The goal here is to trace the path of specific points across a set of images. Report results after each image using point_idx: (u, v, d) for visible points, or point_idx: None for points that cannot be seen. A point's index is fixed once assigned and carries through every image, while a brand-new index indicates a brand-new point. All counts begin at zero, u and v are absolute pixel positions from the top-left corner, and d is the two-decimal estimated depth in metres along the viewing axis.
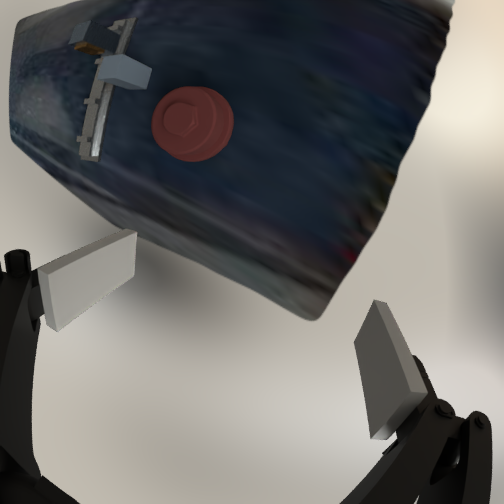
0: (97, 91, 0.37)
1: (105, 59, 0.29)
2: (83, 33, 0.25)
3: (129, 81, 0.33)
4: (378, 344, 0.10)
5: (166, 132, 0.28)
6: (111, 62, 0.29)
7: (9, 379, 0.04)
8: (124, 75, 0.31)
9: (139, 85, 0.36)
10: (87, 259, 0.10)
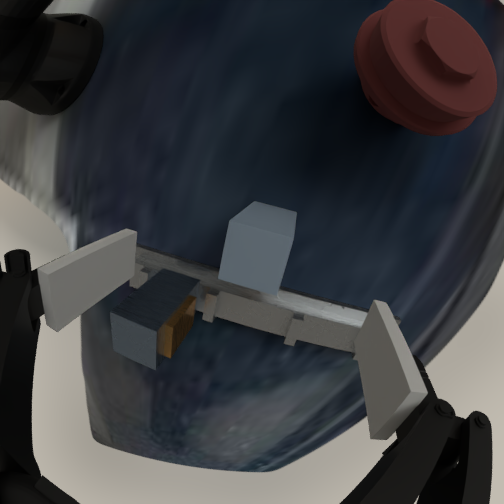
0: (275, 316, 0.25)
1: (229, 272, 0.18)
2: (138, 332, 0.18)
3: (292, 223, 0.20)
4: (378, 344, 0.10)
5: (470, 84, 0.09)
6: (242, 253, 0.17)
7: (10, 379, 0.04)
8: (282, 226, 0.18)
9: (294, 216, 0.22)
10: (87, 259, 0.10)
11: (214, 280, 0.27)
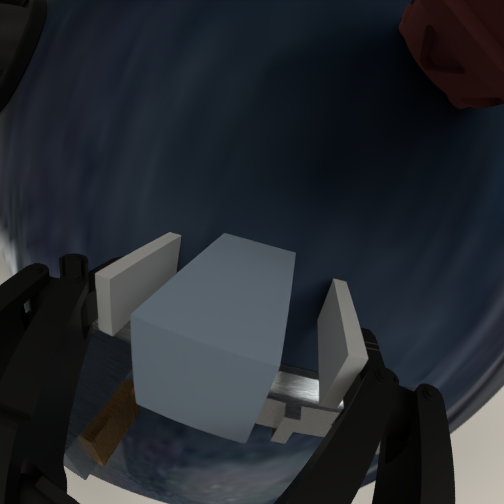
0: None
1: (152, 399, 0.08)
2: None
3: (284, 296, 0.10)
4: (332, 317, 0.12)
5: None
6: (167, 378, 0.07)
7: (50, 391, 0.05)
8: (258, 315, 0.08)
9: (289, 267, 0.12)
10: (142, 263, 0.11)
11: None
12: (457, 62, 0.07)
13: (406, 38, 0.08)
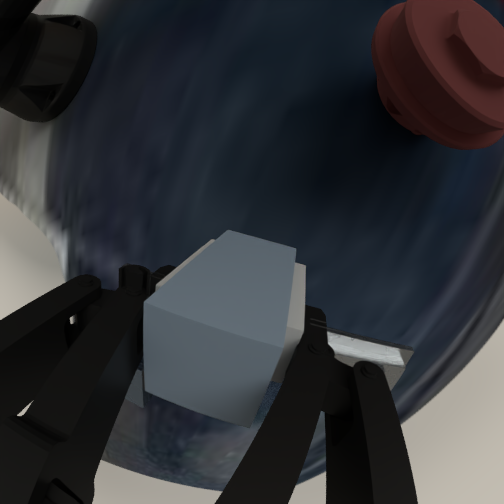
0: None
1: (161, 386, 0.08)
2: None
3: (286, 287, 0.10)
4: None
5: None
6: (177, 363, 0.08)
7: (93, 410, 0.05)
8: (263, 303, 0.09)
9: (290, 261, 0.13)
10: None
11: None
12: None
13: (378, 90, 0.16)
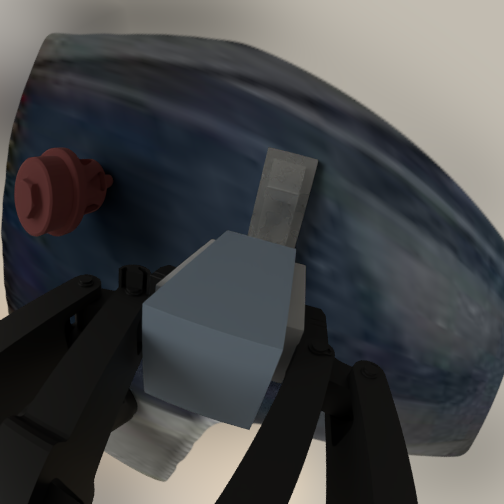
0: None
1: (160, 387, 0.08)
2: None
3: (285, 288, 0.10)
4: None
5: (38, 182, 0.20)
6: (176, 364, 0.08)
7: (92, 410, 0.05)
8: (262, 304, 0.09)
9: (290, 262, 0.13)
10: None
11: None
12: None
13: None
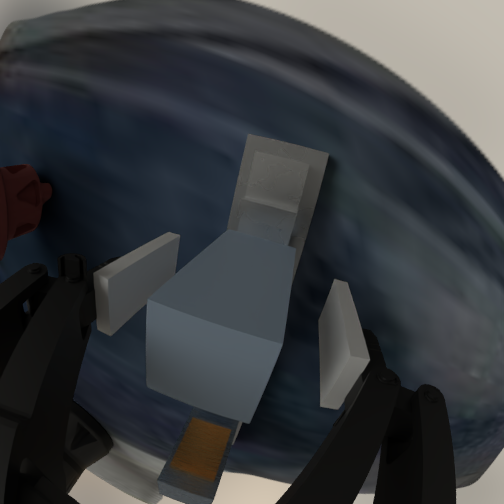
0: None
1: (162, 381, 0.08)
2: (168, 489, 0.13)
3: (285, 285, 0.10)
4: (333, 318, 0.12)
5: None
6: (179, 359, 0.08)
7: (49, 390, 0.05)
8: (263, 301, 0.09)
9: (290, 260, 0.13)
10: (141, 263, 0.11)
11: None
12: None
13: None
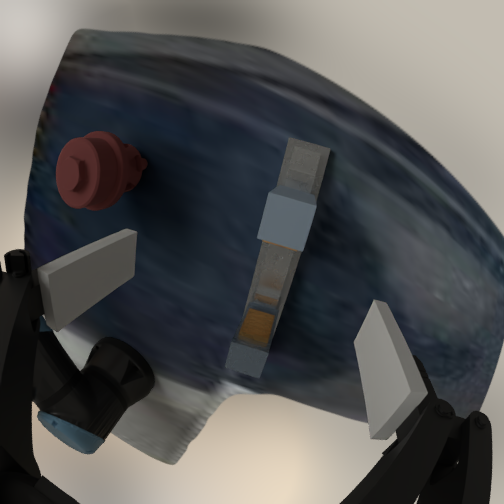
0: (276, 250, 0.33)
1: (266, 232, 0.23)
2: (235, 353, 0.27)
3: (313, 199, 0.25)
4: (378, 344, 0.10)
5: (85, 159, 0.24)
6: (277, 217, 0.22)
7: (9, 379, 0.04)
8: (306, 200, 0.23)
9: (313, 196, 0.28)
10: (87, 259, 0.10)
11: None
12: None
13: (126, 191, 0.35)
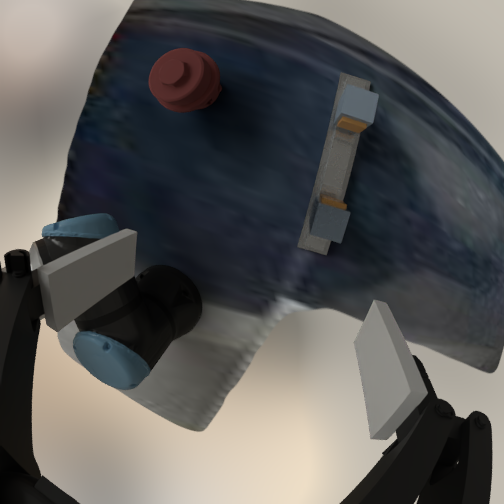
0: (338, 149, 0.37)
1: (347, 109, 0.27)
2: (321, 216, 0.32)
3: None
4: (378, 344, 0.10)
5: (188, 62, 0.29)
6: (354, 99, 0.27)
7: (9, 379, 0.04)
8: None
9: None
10: (87, 259, 0.10)
11: (319, 189, 0.41)
12: None
13: (202, 108, 0.39)
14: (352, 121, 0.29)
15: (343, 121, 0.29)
